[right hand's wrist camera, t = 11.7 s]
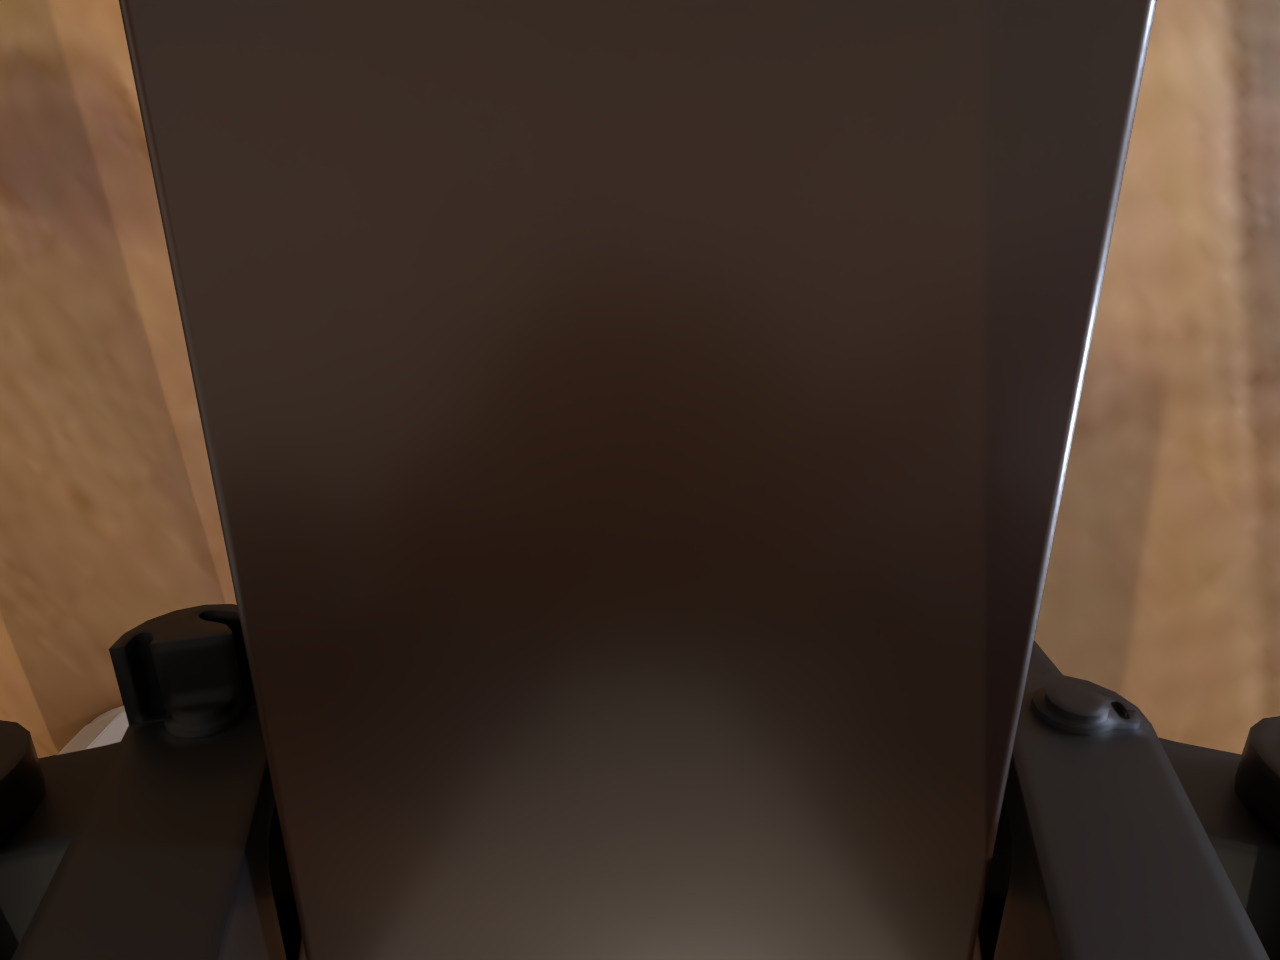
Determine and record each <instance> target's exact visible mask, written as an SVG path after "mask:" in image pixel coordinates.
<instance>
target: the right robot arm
mask: <svg viewBox="0 0 1280 960" xmlns="http://www.w3.org/2000/svg"><path fill="white" fill-rule="evenodd" d="M109 651H110V655H111V659H112V663H113V666H114V670H115V674H116V678H117V682H118V685H119V689H120V693H121V697H122V701H123V704H124V708H125V712H126V716H127V720H128V723H129V726H128V728H127V730H126V732H125V734H124V736H123V738H122V740H121V742H117V743H113V744H109V745H105V746H100V747H95V748H90V749H85V750H80V751H75V752H70V753H65V754H59V755H54V756H49V757H44V758H39V759H38V757H37V754H36V751H35V747H34V744H33V741H32V738H31V735H30V732H29V731H28V730H26V729H25V728H24V727H22V726H21V725H20V724H18V723H16V722H9V721H1V720H0V960H306V955H305V949H304V944H303V939H302V934H301V929H300V924H299V919H298V914H297V909H296V903H295V898H294V893H293V888H292V883H291V878H290V873H289V868H288V863H287V857H286V852H285V847H284V842H283V837H282V832H281V827H280V822H279V817H278V811H277V806H276V801H275V796H274V791H273V786H272V781H271V776H270V771H269V765H268V760H267V755H266V750H265V745H264V740H263V735H262V730H261V725H260V719H259V714H258V709H257V704H256V699H255V694H254V689H253V684H252V679H251V673H250V668H249V663H248V658H247V653H246V648H245V643H244V638H243V633H242V627H241V622H240V617H239V612H238V607H237V605H234V604H218V605H202V606H197V607H192V608H186V609H181V610H176V611H173V612H170V613H168V614H165V615H162V616H159V617H156V618H153V619H151V620H148V621H146V622H144V623H142V624H141V625H139V626H137V627H135V628H134V629H132V630H130V631H128V632H127V633H125V634H123V635H122V636H121V637H120V638H119V639H118V640H117V641H116V642H115V644H114V645H113V646H112V647H111V648H110V649H109ZM973 960H1280V716H1278V717H1271V718H1263V719H1262V720H1260V721H1259V722H1258V723H1256V724H1255V725H1254V726H1252V727H1251V728H1250V731H1249V734H1248V737H1247V740H1246V744H1245V747H1244V750H1243V753H1242V755H1240V754H1235V753H1230V752H1224V751H1219V750H1214V749H1209V748H1204V747H1199V746H1194V745H1188V744H1183V743H1178V742H1174V741H1170V740H1166V739H1162V738H1158V736H1157V734H1156V732H1155V730H1154V728H1153V726H1152V725H1151V723H1150V722H1149V721H1148V719H1147V718H1146V717H1145V716H1144V715H1143V713H1142V712H1141V711H1140V710H1139V709H1138V707H1136V706H1135V705H1133V704H1132V703H1130V702H1129V701H1127V700H1126V699H1124V698H1123V697H1121V696H1120V695H1118V694H1117V693H1115V692H1113V691H1111V690H1108V689H1106V688H1104V687H1101V686H1099V685H1096V684H1094V683H1092V682H1089V681H1086V680H1081V679H1077V678H1072V677H1068V676H1064V675H1062V674H1061V672H1060V671H1059V670H1058V669H1057V668H1056V666H1055V665H1054V664H1053V663H1052V662H1051V660H1050V659H1049V658H1048V657H1047V656H1046V654H1045V653H1044V652H1043V651H1042V649H1041V648H1040V647H1039V646H1038V645H1037V643H1036V642H1035V641H1034V642H1033V647H1032V652H1031V658H1030V663H1029V668H1028V673H1027V678H1026V684H1025V689H1024V694H1023V699H1022V705H1021V710H1020V715H1019V720H1018V725H1017V731H1016V736H1015V741H1014V746H1013V751H1012V757H1011V762H1010V767H1009V772H1008V777H1007V783H1006V788H1005V793H1004V798H1003V803H1002V809H1001V814H1000V819H999V824H998V829H997V835H996V840H995V845H994V850H993V856H992V861H991V866H990V871H989V876H988V882H987V887H986V892H985V897H984V902H983V908H982V913H981V918H980V923H979V928H978V934H977V939H976V944H975V949H974V954H973Z"/></svg>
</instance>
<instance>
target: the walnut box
mask: <svg viewBox="0 0 1280 960" xmlns="http://www.w3.org/2000/svg"><path fill="white" fill-rule="evenodd" d="M1156 2H1157V0H119V4H120V9H121V14H122V19H123V24H124V29H125V34H126V39H127V45H128V50H129V55H130V60H131V65H132V70H133V75H134V80H135V85H136V91H137V96H138V101H139V106H140V111H141V116H142V121H143V126H144V132H145V137H146V142H147V147H148V152H149V157H150V162H151V167H152V172H153V178H154V183H155V188H156V193H157V198H158V203H159V208H160V213H161V218H162V224H163V229H164V234H165V239H166V244H167V249H168V254H169V259H170V264H171V270H172V275H173V280H174V285H175V290H176V295H177V300H178V305H179V310H180V316H181V321H182V326H183V331H184V336H185V341H186V346H187V351H188V356H189V362H190V367H191V372H192V377H193V382H194V387H195V392H196V397H197V402H198V408H199V413H200V418H201V423H202V428H203V433H204V438H205V443H206V448H207V454H208V459H209V464H210V469H211V474H212V479H213V484H214V489H215V494H216V500H217V505H218V510H219V515H220V520H221V525H222V530H223V535H224V540H225V546H226V551H227V556H228V561H229V566H230V571H231V576H232V581H233V586H234V592H235V597H236V602H237V607H238V612H239V617H240V622H241V627H242V633H243V638H244V643H245V648H246V653H247V658H248V663H249V668H250V673H251V679H252V684H253V689H254V694H255V699H256V704H257V709H258V714H259V719H260V725H261V730H262V735H263V740H264V745H265V750H266V755H267V760H268V765H269V771H270V776H271V781H272V786H273V791H274V796H275V801H276V806H277V811H278V817H279V822H280V827H281V832H282V837H283V842H284V847H285V852H286V857H287V863H288V868H289V873H290V878H291V883H292V888H293V893H294V898H295V903H296V909H297V914H298V919H299V924H300V929H301V934H302V939H303V944H304V949H305V955H306V960H973V954H974V949H975V944H976V939H977V934H978V928H979V923H980V918H981V913H982V908H983V902H984V897H985V892H986V887H987V882H988V876H989V871H990V866H991V861H992V856H993V850H994V845H995V840H996V835H997V829H998V824H999V819H1000V814H1001V809H1002V803H1003V798H1004V793H1005V788H1006V783H1007V777H1008V772H1009V767H1010V762H1011V757H1012V751H1013V746H1014V741H1015V736H1016V731H1017V725H1018V720H1019V715H1020V710H1021V705H1022V699H1023V694H1024V689H1025V684H1026V678H1027V673H1028V668H1029V663H1030V658H1031V652H1032V647H1033V642H1034V637H1035V632H1036V626H1037V621H1038V616H1039V611H1040V606H1041V600H1042V595H1043V590H1044V585H1045V580H1046V574H1047V569H1048V564H1049V559H1050V554H1051V548H1052V543H1053V538H1054V533H1055V528H1056V522H1057V517H1058V512H1059V507H1060V501H1061V496H1062V491H1063V486H1064V481H1065V475H1066V470H1067V465H1068V460H1069V455H1070V449H1071V444H1072V439H1073V434H1074V429H1075V423H1076V418H1077V413H1078V408H1079V403H1080V397H1081V392H1082V387H1083V382H1084V377H1085V371H1086V366H1087V361H1088V356H1089V350H1090V345H1091V340H1092V335H1093V330H1094V324H1095V319H1096V314H1097V309H1098V304H1099V298H1100V293H1101V288H1102V283H1103V278H1104V272H1105V267H1106V262H1107V257H1108V252H1109V246H1110V241H1111V236H1112V231H1113V226H1114V220H1115V215H1116V210H1117V205H1118V200H1119V194H1120V189H1121V184H1122V179H1123V173H1124V168H1125V163H1126V158H1127V153H1128V147H1129V142H1130V137H1131V132H1132V127H1133V121H1134V116H1135V111H1136V106H1137V101H1138V95H1139V90H1140V85H1141V80H1142V75H1143V69H1144V64H1145V59H1146V54H1147V49H1148V43H1149V38H1150V33H1151V28H1152V23H1153V17H1154V12H1155V7H1156Z"/></svg>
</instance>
